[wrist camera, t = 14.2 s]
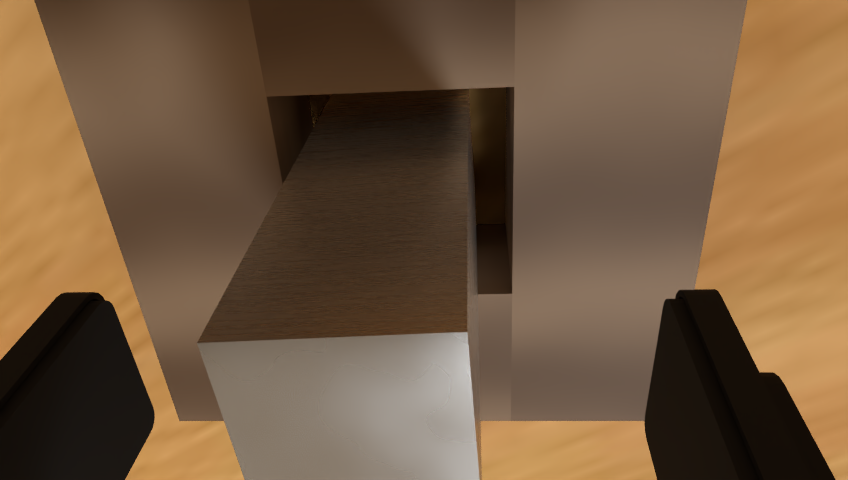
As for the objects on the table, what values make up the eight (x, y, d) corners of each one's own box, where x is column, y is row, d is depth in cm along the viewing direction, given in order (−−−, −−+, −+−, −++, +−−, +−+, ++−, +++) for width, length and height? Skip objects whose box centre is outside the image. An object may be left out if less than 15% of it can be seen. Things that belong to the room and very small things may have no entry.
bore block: (85, -131, 17) (-9, -124, 14) (713, -174, 16) (779, -179, 13) (218, 343, 26) (179, 420, 22) (641, 339, 24) (670, 420, 21)
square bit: (335, 86, 20) (196, 342, 10) (467, 76, 20) (467, 331, 9) (355, 203, 22) (257, 517, 12) (475, 196, 22) (482, 513, 11)
